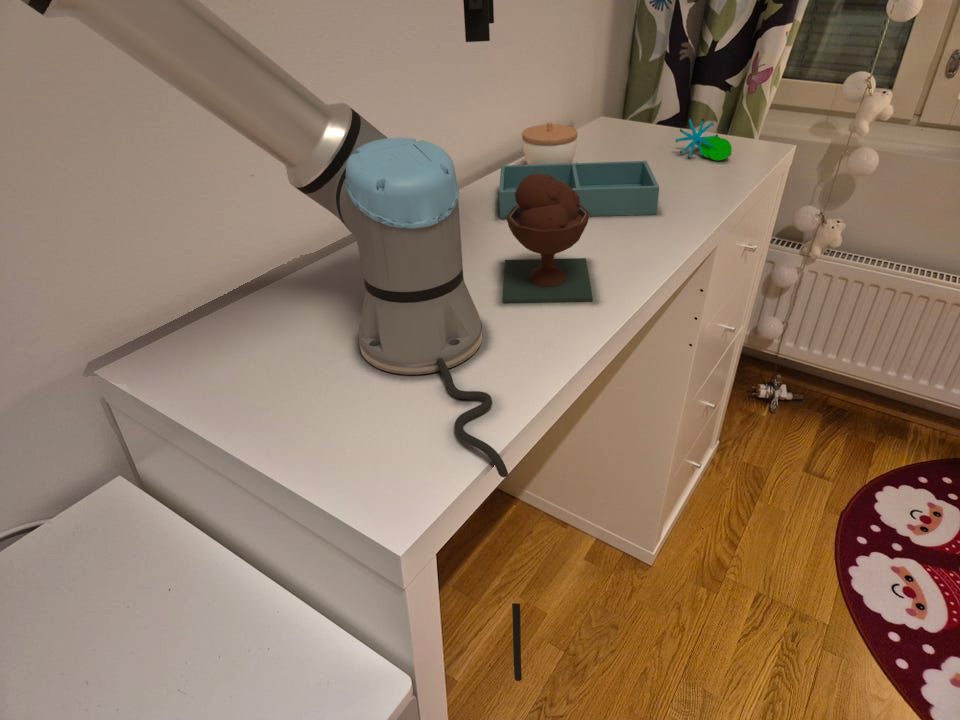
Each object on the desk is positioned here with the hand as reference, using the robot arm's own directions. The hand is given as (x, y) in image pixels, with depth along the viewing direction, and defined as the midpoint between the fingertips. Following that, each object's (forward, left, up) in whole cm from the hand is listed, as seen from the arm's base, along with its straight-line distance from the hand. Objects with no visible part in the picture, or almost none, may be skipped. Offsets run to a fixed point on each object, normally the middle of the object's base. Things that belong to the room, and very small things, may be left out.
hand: (480, 32), depth 80 cm
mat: (-5, -8, -32) cm, 33 cm away
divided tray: (+25, -14, -32) cm, 43 cm away
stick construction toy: (+49, -42, -32) cm, 72 cm away
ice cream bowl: (-5, -8, -31) cm, 33 cm away
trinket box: (+42, -10, -32) cm, 54 cm away
